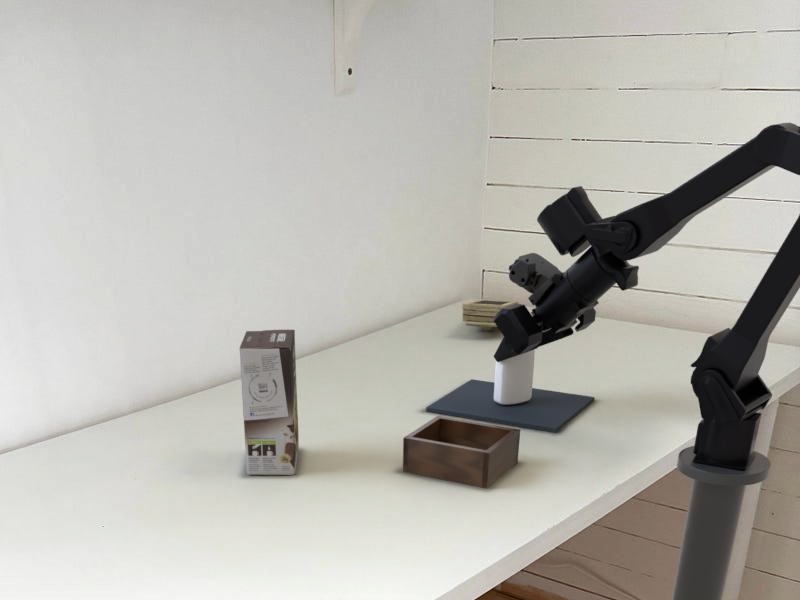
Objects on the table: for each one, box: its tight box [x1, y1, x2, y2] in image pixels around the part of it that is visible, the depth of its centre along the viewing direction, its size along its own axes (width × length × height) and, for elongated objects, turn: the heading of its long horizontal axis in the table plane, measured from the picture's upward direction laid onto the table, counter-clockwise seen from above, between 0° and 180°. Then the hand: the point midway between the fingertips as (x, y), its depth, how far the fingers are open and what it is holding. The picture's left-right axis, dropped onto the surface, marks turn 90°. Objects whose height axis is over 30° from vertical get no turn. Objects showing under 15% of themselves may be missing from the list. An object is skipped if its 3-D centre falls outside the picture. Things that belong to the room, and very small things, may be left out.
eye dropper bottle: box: [494, 349, 536, 405], centre depth 143 cm, size 4×6×12 cm
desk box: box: [402, 415, 521, 489], centre depth 125 cm, size 12×10×4 cm
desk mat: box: [425, 378, 595, 433], centre depth 146 cm, size 20×16×1 cm
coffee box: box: [239, 329, 300, 476], centre depth 125 cm, size 9×6×16 cm
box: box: [461, 299, 519, 331], centre depth 187 cm, size 8×22×5 cm, turn 164°
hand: (507, 354), depth 143 cm, fingers closed on eye dropper bottle, 5 cm apart
